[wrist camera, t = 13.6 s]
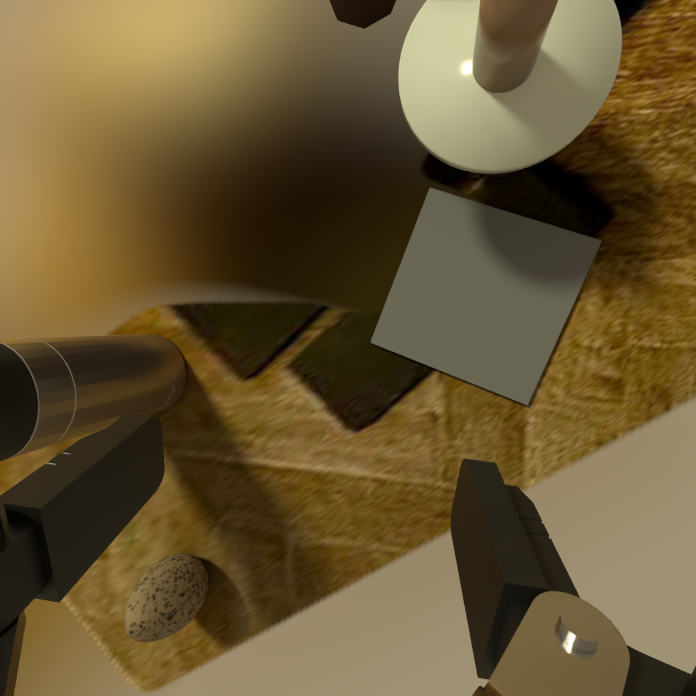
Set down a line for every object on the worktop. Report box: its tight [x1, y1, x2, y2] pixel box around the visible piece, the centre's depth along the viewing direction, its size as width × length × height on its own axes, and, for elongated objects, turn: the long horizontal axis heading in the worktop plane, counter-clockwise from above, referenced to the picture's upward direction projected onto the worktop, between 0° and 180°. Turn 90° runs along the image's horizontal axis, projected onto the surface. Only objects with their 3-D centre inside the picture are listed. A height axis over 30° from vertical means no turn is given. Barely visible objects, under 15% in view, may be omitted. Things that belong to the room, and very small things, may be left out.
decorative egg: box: [125, 554, 208, 642], centre depth 42 cm, size 7×7×10 cm
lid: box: [398, 0, 622, 174], centre depth 23 cm, size 14×14×9 cm
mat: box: [370, 188, 602, 405], centre depth 37 cm, size 16×16×1 cm
